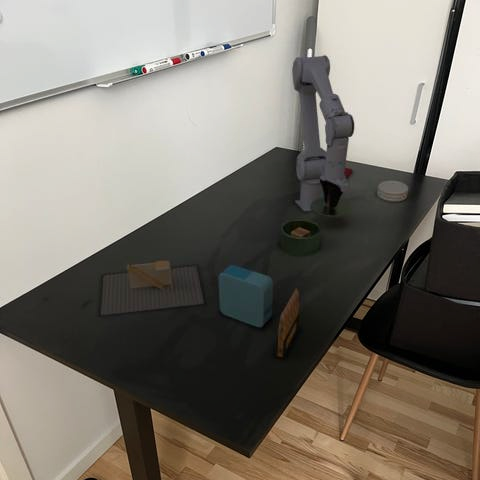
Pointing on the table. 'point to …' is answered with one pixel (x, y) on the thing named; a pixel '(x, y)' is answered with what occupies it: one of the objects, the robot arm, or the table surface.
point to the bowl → (297, 243)
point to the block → (300, 233)
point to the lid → (325, 210)
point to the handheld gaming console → (347, 172)
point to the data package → (246, 295)
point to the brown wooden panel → (288, 325)
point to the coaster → (392, 191)
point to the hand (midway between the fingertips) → (330, 204)
